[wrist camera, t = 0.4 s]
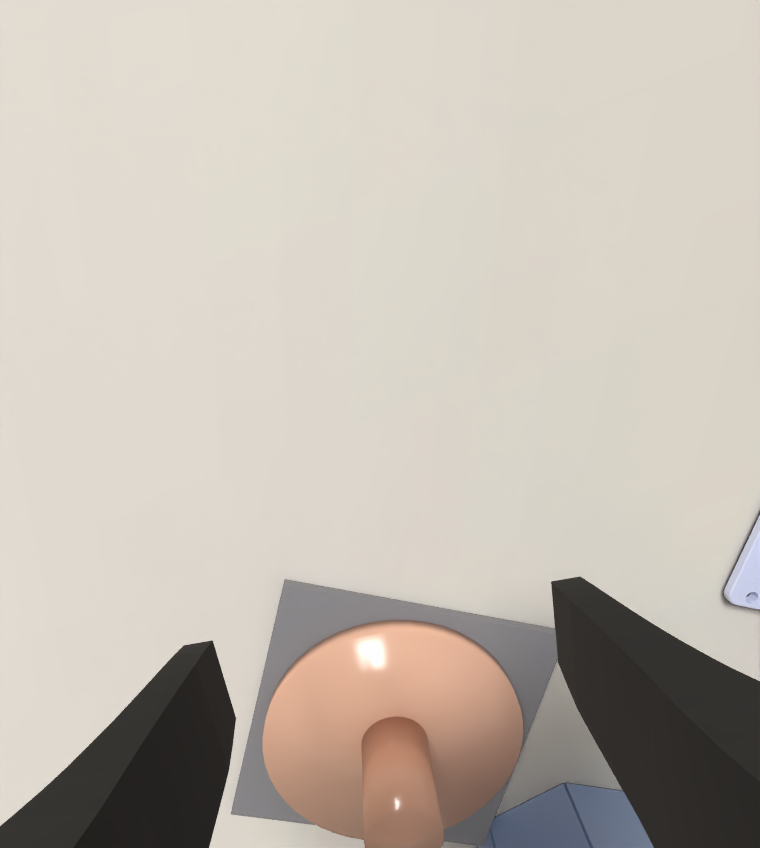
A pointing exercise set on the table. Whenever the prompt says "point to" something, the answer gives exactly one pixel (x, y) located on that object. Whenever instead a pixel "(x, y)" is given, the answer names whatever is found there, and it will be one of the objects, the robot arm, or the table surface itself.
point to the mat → (339, 610)
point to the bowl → (570, 821)
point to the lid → (392, 732)
